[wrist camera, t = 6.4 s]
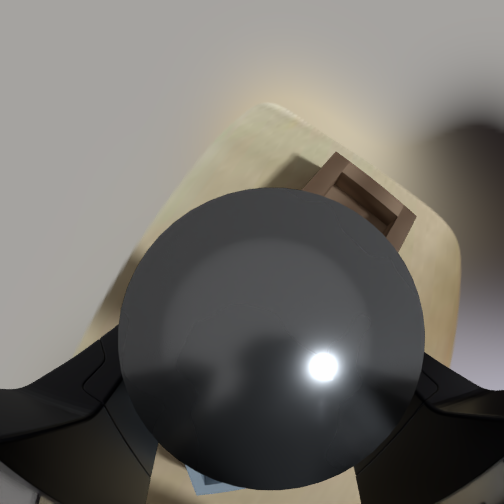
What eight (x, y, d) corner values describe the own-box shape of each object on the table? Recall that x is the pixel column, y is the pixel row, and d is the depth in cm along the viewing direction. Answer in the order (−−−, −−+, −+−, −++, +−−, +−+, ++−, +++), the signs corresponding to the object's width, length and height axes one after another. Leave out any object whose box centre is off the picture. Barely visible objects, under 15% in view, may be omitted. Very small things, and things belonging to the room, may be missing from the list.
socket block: (400, 229, 25) (416, 216, 22) (354, 305, 22) (370, 299, 19) (326, 170, 26) (335, 151, 23) (268, 236, 23) (273, 221, 21)
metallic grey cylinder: (302, 369, 14) (453, 398, 3) (220, 401, 13) (192, 521, 3) (270, 292, 15) (350, 161, 5) (189, 320, 14) (89, 242, 4)
